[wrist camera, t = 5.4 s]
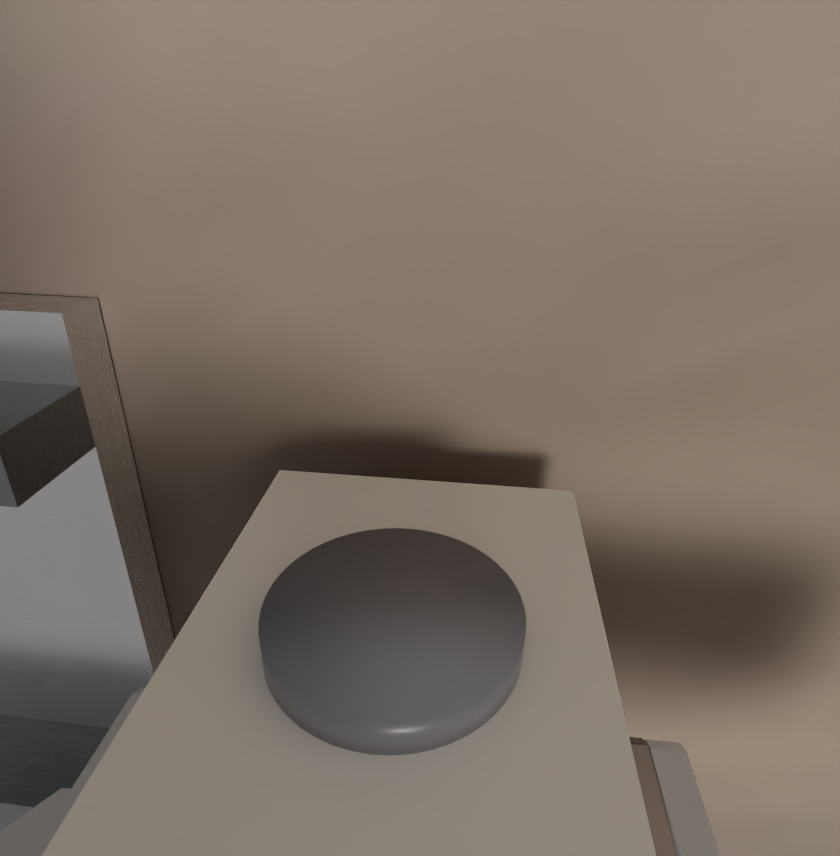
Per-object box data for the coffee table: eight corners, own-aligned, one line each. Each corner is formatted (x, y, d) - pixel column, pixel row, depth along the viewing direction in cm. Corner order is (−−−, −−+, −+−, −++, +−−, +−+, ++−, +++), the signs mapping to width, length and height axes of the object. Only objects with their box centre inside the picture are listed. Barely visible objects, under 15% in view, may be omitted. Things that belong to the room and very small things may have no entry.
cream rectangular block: (303, 707, 13) (133, 1234, 7) (276, 447, 10) (-61, 952, 4) (535, 731, 13) (578, 1317, 6) (576, 467, 10) (730, 1069, 4)
